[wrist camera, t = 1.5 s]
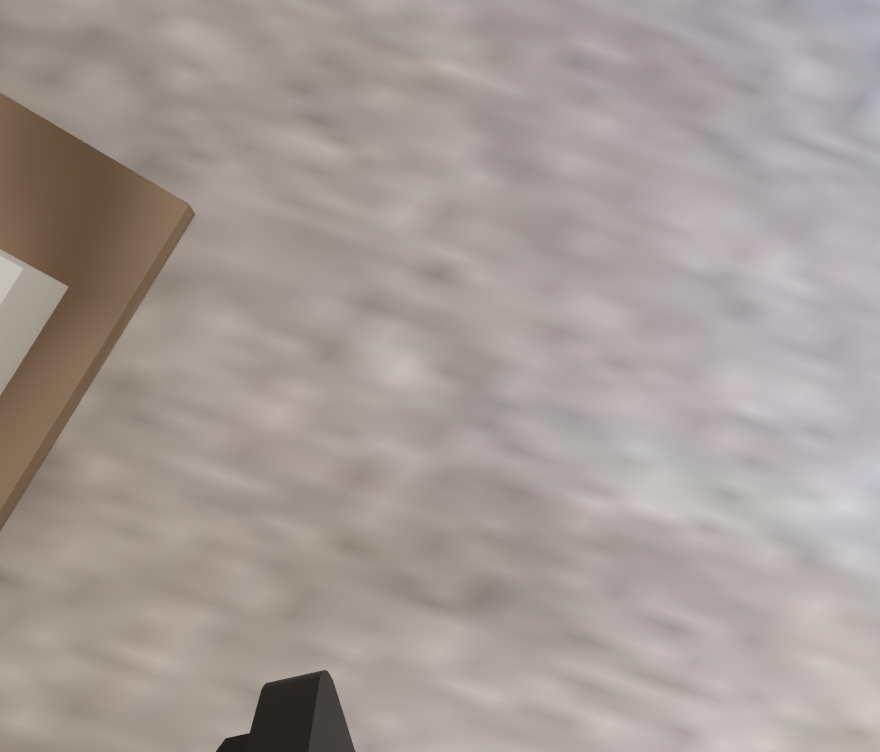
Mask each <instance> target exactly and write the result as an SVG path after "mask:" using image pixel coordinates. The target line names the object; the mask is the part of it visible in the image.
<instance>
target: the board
mask: <svg viewBox="0 0 880 752" xmlns="http://www.w3.org/2000/svg"><path fill="white" fill-rule="evenodd" d="M194 215H195V213H194V212H193V210H192V208H191V206H190V205H189V204H188V203H186V202H184V201H183V200H181V199H179V198H178V197H176V196H174V195H173V194H171V193H169V192H167V191H166V190H164V189H162V188H161V187H159V186H157V185H156V184H154V183H152V182H151V181H149V180H147V179H145V178H144V177H142V176H140V175H139V174H137V173H135V172H134V171H132V170H130V169H129V168H127V167H125V166H123V165H122V164H120V163H118V162H117V161H115V160H113V159H112V158H110V157H108V156H106V155H105V154H103V153H101V152H100V151H98V150H96V149H95V148H93V147H91V146H90V145H88V144H86V143H84V142H83V141H81V140H79V139H78V138H76V137H74V136H73V135H71V134H69V133H68V132H66V131H64V130H62V129H61V128H59V127H57V126H56V125H54V124H52V123H51V122H49V121H47V120H46V119H44V118H42V117H40V116H39V115H37V114H35V113H34V112H32V111H30V110H29V109H27V108H25V107H23V106H22V105H20V104H18V103H17V102H15V101H13V100H12V99H10V98H8V97H7V96H5V95H3V94H1V93H0V249H1V250H3V251H5V252H6V253H8V254H10V255H12V256H14V257H15V258H17V259H19V260H21V261H23V262H25V263H26V264H28V265H30V266H32V267H34V268H35V269H37V270H39V271H41V272H43V273H45V274H46V275H48V276H50V277H52V278H54V279H55V280H57V281H59V282H61V283H63V284H65V285H66V286H68V289H67V290H66V292H65V294H64V295H63V297H62V298H61V300H60V302H59V303H58V305H57V306H56V308H55V310H54V311H53V313H52V314H51V316H50V317H49V319H48V321H47V322H46V324H45V325H44V327H43V329H42V330H41V332H40V333H39V335H38V337H37V338H36V340H35V341H34V343H33V344H32V346H31V348H30V349H29V351H28V352H27V354H26V356H25V357H24V359H23V360H22V362H21V364H20V365H19V367H18V368H17V370H16V372H15V373H14V375H13V376H12V378H11V379H10V381H9V383H8V384H7V386H6V387H5V389H4V391H3V392H2V394H1V395H0V530H1V529H2V527H3V526H4V524H5V522H6V521H7V519H8V517H9V516H10V514H11V513H12V511H13V509H14V508H15V506H16V504H17V503H18V501H19V500H20V498H21V496H22V495H23V493H24V491H25V490H26V488H27V487H28V485H29V483H30V482H31V480H32V478H33V477H34V475H35V474H36V472H37V470H38V469H39V467H40V465H41V464H42V462H43V461H44V459H45V457H46V456H47V454H48V452H49V451H50V449H51V448H52V446H53V444H54V443H55V441H56V439H57V438H58V436H59V435H60V433H61V431H62V430H63V428H64V426H65V425H66V423H67V422H68V420H69V418H70V417H71V415H72V413H73V412H74V410H75V409H76V407H77V405H78V404H79V402H80V400H81V399H82V397H83V396H84V394H85V392H86V391H87V389H88V387H89V386H90V384H91V383H92V381H93V379H94V378H95V376H96V374H97V373H98V371H99V370H100V368H101V366H102V365H103V363H104V361H105V360H106V358H107V357H108V355H109V353H110V352H111V350H112V349H113V347H114V345H115V344H116V342H117V340H118V339H119V337H120V336H121V334H122V332H123V331H124V329H125V327H126V326H127V324H128V323H129V321H130V319H131V318H132V316H133V314H134V313H135V311H136V310H137V308H138V306H139V305H140V303H141V301H142V300H143V298H144V297H145V295H146V293H147V292H148V290H149V288H150V287H151V285H152V284H153V282H154V280H155V279H156V277H157V275H158V274H159V272H160V271H161V269H162V267H163V266H164V264H165V262H166V261H167V259H168V258H169V256H170V254H171V253H172V251H173V249H174V248H175V246H176V245H177V243H178V241H179V240H180V238H181V236H182V235H183V233H184V232H185V230H186V228H187V227H188V225H189V223H190V222H191V220H192V219H193V217H194Z"/></svg>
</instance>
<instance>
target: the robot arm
mask: <svg viewBox="0 0 880 752" xmlns="http://www.w3.org/2000/svg"><path fill="white" fill-rule="evenodd" d="M216 752H355V750H354V746H353V743H352V740H351V737H350V734H349V730H348V727H347V724H346V721H345V718H344V714H343V711H342V708H341V705H340V701H339V698H338V695H337V692H336V689H335V685H334V683H333V680H332V678H331V676H330V674H329V673H328V671H326V670H323V671H319V672H314V673H310V674H305V675H301V676H296V677H292V678H287V679H283V680H278V681H274V682H269V683H266V684H265V685H264V686H263V688H262V691H261V694H260V697H259V701H258V705H257V708H256V712H255V716H254V719H253V723H252V727H251V731H250V733H248V734H244V735H239V736H235V737H230V738H226V739H225V740H224V741H223V743H222V744H221V745H220V747H219V748H218V749H217V751H216Z"/></svg>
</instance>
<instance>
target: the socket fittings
mask: <svg viewBox="0 0 880 752" xmlns="http://www.w3.org/2000/svg"><path fill="white" fill-rule="evenodd" d="M67 289H68V286H66V285H65V284H63V283H61V282H59V281H57V280H55V279H54V278H52V277H50V276H48V275H46V274H45V273H43V272H41V271H39V270H37V269H35V268H34V267H32V266H30V265H28V264H26V263H25V262H23V261H21V260H19V259H17V258H15V257H14V256H12V255H10V254H8V253H6V252H5V251H3V250H1V249H0V395H1V394H2V392H3V391H4V389H5V387H6V386H7V384H8V383H9V381H10V379H11V378H12V376H13V375H14V373H15V372H16V370H17V368H18V367H19V365H20V364H21V362H22V360H23V359H24V357H25V356H26V354H27V352H28V351H29V349H30V348H31V346H32V344H33V343H34V341H35V340H36V338H37V337H38V335H39V333H40V332H41V330H42V329H43V327H44V325H45V324H46V322H47V321H48V319H49V317H50V316H51V314H52V313H53V311H54V310H55V308H56V306H57V305H58V303H59V302H60V300H61V298H62V297H63V295H64V294H65V292H66V290H67Z"/></svg>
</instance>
